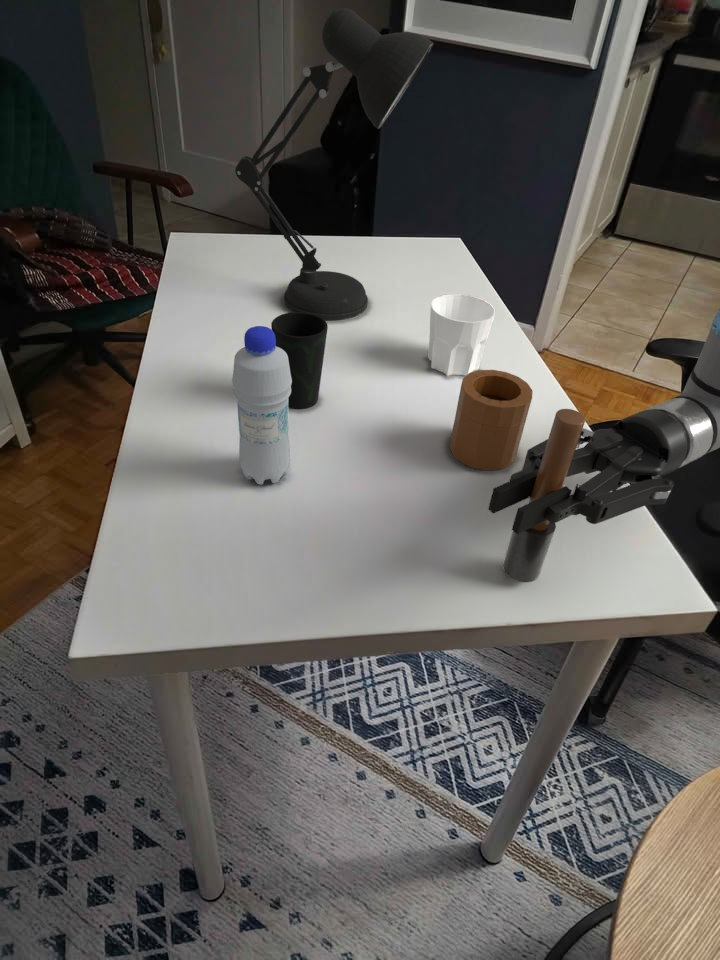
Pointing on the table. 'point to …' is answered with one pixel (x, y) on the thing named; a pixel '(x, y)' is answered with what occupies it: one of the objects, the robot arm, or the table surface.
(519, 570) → the wooden handled pestle
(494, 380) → the wooden hollow tube
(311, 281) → the desk lamp
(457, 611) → the table surface
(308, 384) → the cup
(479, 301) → the cup
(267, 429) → the bottle
